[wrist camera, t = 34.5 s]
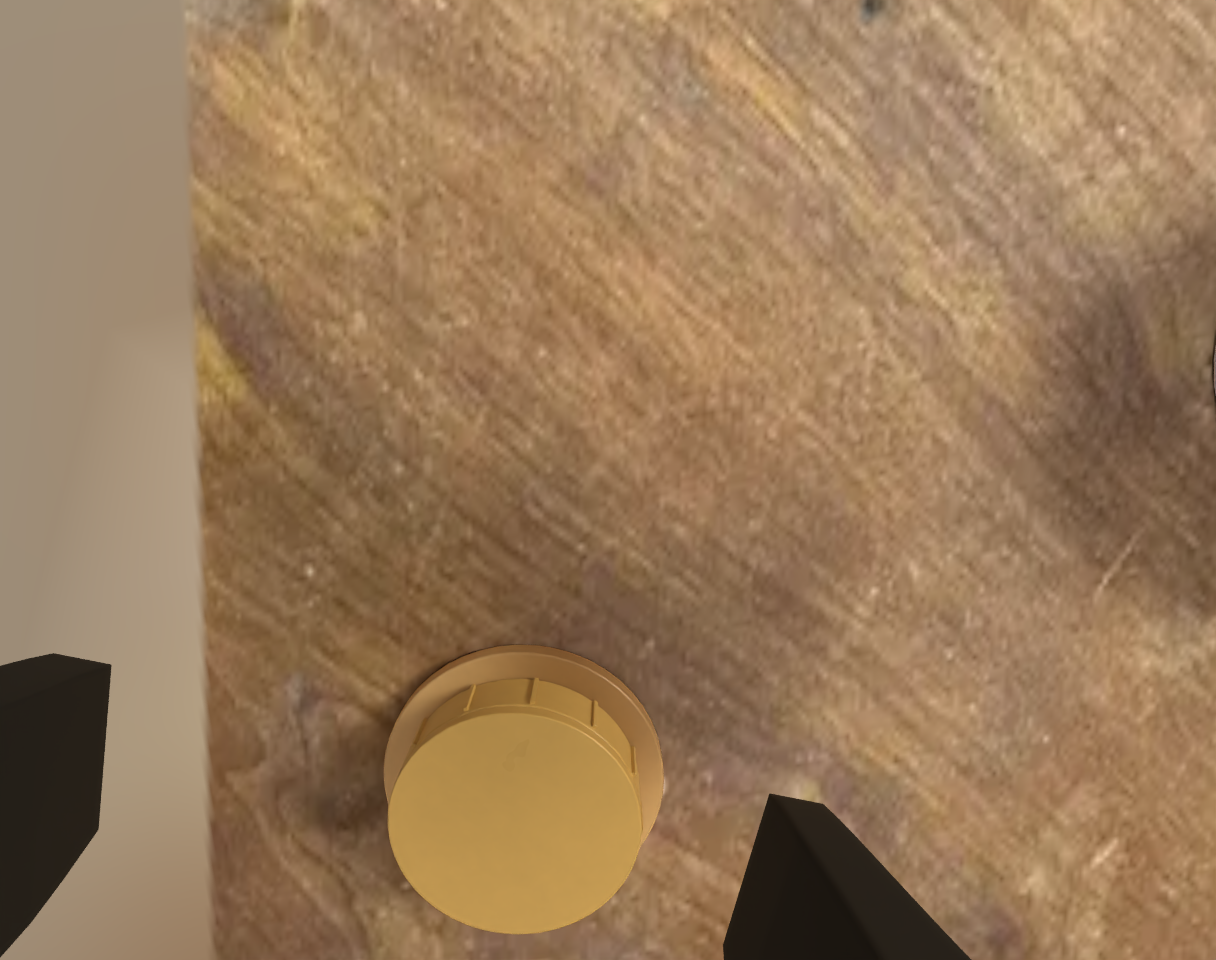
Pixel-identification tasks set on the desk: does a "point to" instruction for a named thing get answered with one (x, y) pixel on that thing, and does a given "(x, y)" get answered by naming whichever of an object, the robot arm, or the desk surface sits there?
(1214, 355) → the wedge on round base
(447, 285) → the desk surface
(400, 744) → the tan round disc
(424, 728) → the lid
